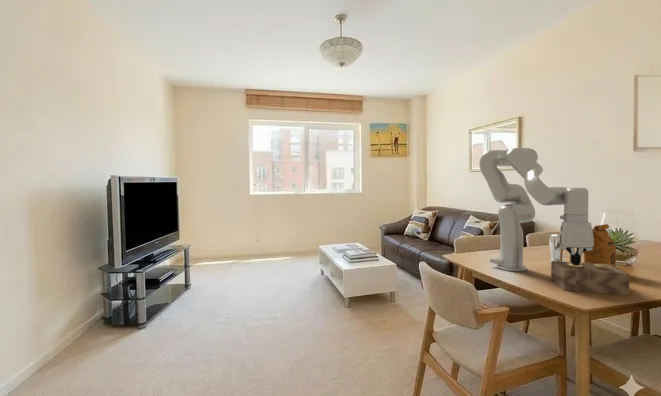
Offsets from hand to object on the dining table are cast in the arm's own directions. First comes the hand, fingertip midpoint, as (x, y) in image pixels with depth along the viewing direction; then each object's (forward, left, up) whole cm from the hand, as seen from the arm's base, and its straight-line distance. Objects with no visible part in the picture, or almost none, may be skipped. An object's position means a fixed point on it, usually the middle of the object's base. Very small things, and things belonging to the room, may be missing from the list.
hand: (575, 264), depth 123 cm
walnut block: (+4, 0, -9) cm, 10 cm away
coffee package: (+18, +24, -9) cm, 31 cm away
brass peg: (0, 0, -8) cm, 8 cm away
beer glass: (+5, +35, -9) cm, 37 cm away
